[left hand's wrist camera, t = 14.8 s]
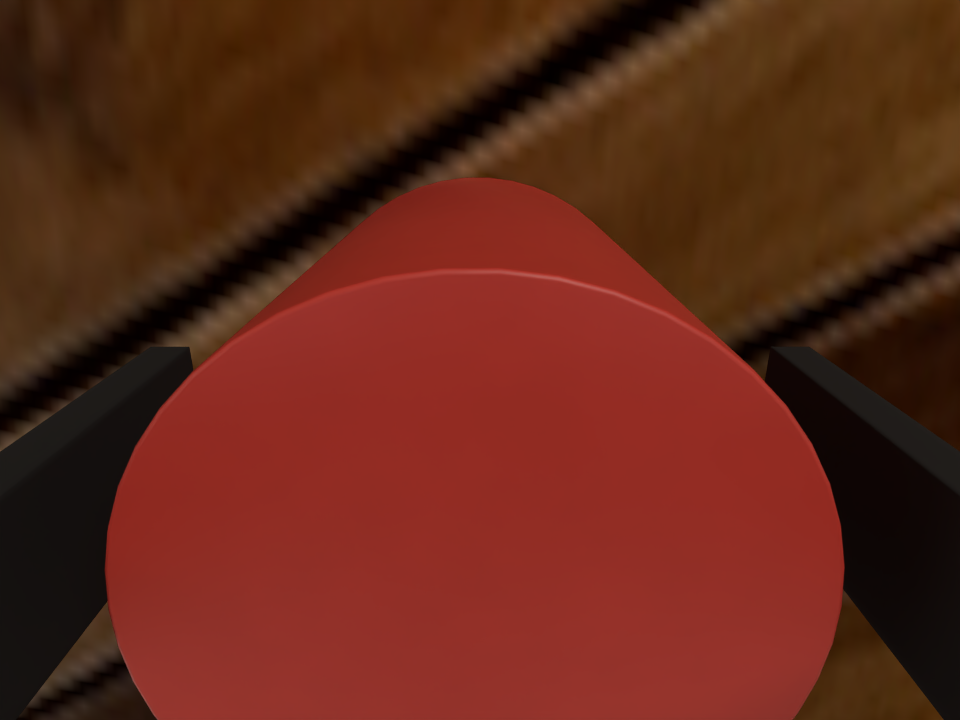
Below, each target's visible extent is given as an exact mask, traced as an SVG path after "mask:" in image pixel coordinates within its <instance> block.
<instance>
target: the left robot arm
mask: <svg viewBox="0 0 960 720" xmlns="http://www.w3.org/2000/svg"><path fill="white" fill-rule="evenodd" d="M192 372H193V366H192V360H191V354H190V348H189V347H150V348H149V349H147V350H146V351H144V352H143V353H141V354H140V355H138V356H137V357H136V358H134V359H133V360H131V361H130V362H128V363H127V364H126V365H124V366H123V367H121V368H120V369H118V370H117V371H116V372H114V373H113V374H111V375H110V376H108V377H107V378H105V379H104V380H103V381H101V382H100V383H98V384H97V385H95V386H94V387H93V388H91V389H90V390H88V391H87V392H85V393H84V394H83V395H81V396H80V397H78V398H77V399H75V400H74V401H73V402H71V403H70V404H68V405H67V406H65V407H64V408H62V409H61V410H60V411H58V412H57V413H55V414H54V415H52V416H51V417H50V418H48V419H47V420H45V421H44V422H42V423H41V424H40V425H38V426H37V427H35V428H34V429H32V430H31V431H29V432H28V433H27V434H25V435H24V436H22V437H21V438H19V439H18V440H17V441H15V442H14V443H12V444H11V445H9V446H8V447H7V448H5V449H4V450H2V451H1V452H0V720H16V719H17V718H18V716H19V715H20V714H21V713H22V711H23V710H24V709H25V707H26V706H27V705H28V703H29V702H30V701H31V700H32V698H33V697H34V696H35V694H36V693H37V692H38V690H39V689H40V688H41V687H42V685H43V684H44V683H45V681H46V680H47V679H48V678H49V676H50V675H51V674H52V672H53V671H54V670H55V668H56V667H57V666H58V665H59V663H60V662H61V661H62V659H63V658H64V657H65V655H66V654H67V653H68V652H69V650H70V649H71V648H72V646H73V645H74V644H75V642H76V641H77V640H78V639H79V637H80V636H81V635H82V633H83V632H84V631H85V629H86V628H87V627H88V626H89V624H90V623H91V622H92V620H93V619H94V618H95V617H96V615H97V614H98V613H99V611H100V610H101V609H102V607H103V606H104V605H105V604H106V602H107V601H108V599H107V588H106V578H105V560H106V545H107V531H108V525H109V521H110V517H111V513H112V509H113V505H114V501H115V496H116V492H117V488H118V485H119V483H120V480H121V478H122V476H123V473H124V471H125V469H126V466H127V464H128V462H129V460H130V457H131V455H132V453H133V450H134V448H135V446H136V444H137V443H138V441H139V440H140V438H141V437H142V435H143V433H144V432H145V430H146V429H147V427H148V426H149V424H150V423H151V421H152V419H153V418H154V416H155V415H156V413H157V412H158V410H159V409H160V407H161V406H162V405H163V404H164V403H165V402H166V401H167V399H168V398H169V397H170V396H171V395H172V394H173V393H174V392H175V390H176V389H177V388H178V387H179V386H180V385H181V384H182V383H183V382H184V380H185V379H186V378H187V377H188V376H189V375H190V374H191V373H192ZM765 383H766V384H767V385H768V386H769V387H770V388H771V389H772V390H773V391H774V392H775V393H776V395H777V396H778V397H779V398H780V399H781V400H782V401H783V402H784V403H785V404H786V405H787V407H788V408H789V410H790V411H791V413H792V414H793V416H794V417H795V419H796V420H797V422H798V423H799V425H800V426H801V428H802V429H803V431H804V432H805V434H806V435H807V437H808V439H809V440H810V442H811V443H812V445H813V447H814V449H815V452H816V454H817V456H818V458H819V460H820V463H821V465H822V467H823V469H824V472H825V474H826V476H827V478H828V480H829V483H830V486H831V490H832V493H833V497H834V501H835V505H836V509H837V513H838V516H839V520H840V524H841V533H842V545H843V556H844V580H843V589H844V591H845V592H846V593H847V594H848V596H849V597H850V598H851V600H852V601H853V602H854V604H855V605H856V606H857V607H858V609H859V610H860V611H861V613H862V614H863V615H864V617H865V618H866V619H867V620H868V622H869V623H870V624H871V626H872V627H873V628H874V630H875V631H876V632H877V633H878V635H879V636H880V637H881V639H882V640H883V641H884V642H885V644H886V645H887V646H888V648H889V649H890V650H891V652H892V653H893V654H894V655H895V657H896V658H897V659H898V661H899V662H900V663H901V665H902V666H903V667H904V668H905V670H906V671H907V672H908V674H909V675H910V676H911V678H912V679H913V680H914V681H915V683H916V684H917V685H918V687H919V688H920V689H921V691H922V692H923V693H924V694H925V696H926V697H927V698H928V700H929V701H930V702H931V704H932V705H933V706H934V707H935V709H936V710H937V711H938V713H939V714H940V715H941V716H942V718H943V719H944V720H960V452H959V451H958V450H956V449H955V448H953V447H952V446H951V445H949V444H948V443H946V442H945V441H943V440H942V439H941V438H939V437H938V436H936V435H935V434H933V433H932V432H930V431H929V430H928V429H926V428H925V427H923V426H922V425H920V424H919V423H918V422H916V421H915V420H913V419H912V418H910V417H909V416H908V415H906V414H905V413H903V412H902V411H900V410H899V409H898V408H896V407H895V406H893V405H892V404H890V403H889V402H887V401H886V400H885V399H883V398H882V397H880V396H879V395H877V394H876V393H875V392H873V391H872V390H870V389H869V388H867V387H866V386H865V385H863V384H862V383H860V382H859V381H857V380H856V379H854V378H853V377H852V376H850V375H849V374H847V373H846V372H844V371H843V370H842V369H840V368H839V367H837V366H836V365H834V364H833V363H832V362H830V361H829V360H827V359H826V358H824V357H823V356H822V355H820V354H819V353H817V352H816V351H814V350H813V349H811V348H810V347H771V348H770V354H769V360H768V366H767V372H766V377H765Z"/></svg>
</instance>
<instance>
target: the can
mask: <svg viewBox="0 0 960 720" xmlns="http://www.w3.org/2000/svg"><path fill="white" fill-rule="evenodd" d="M105 578H106V588H107V599H108V609H109V613H110V617H111V621H112V624H113V628H114V632H115V636H116V640H117V644H118V647H119V649H120V652H121V654H122V656H123V659H124V661H125V663H126V666H127V668H128V670H129V673H130V675H131V677H132V680H133V682H134V684H135V685H136V687H137V688H138V690H139V692H140V693H141V695H142V697H143V698H144V700H145V702H146V703H147V705H148V707H149V708H150V710H151V711H152V713H153V715H154V716H155V717H156V718H157V720H793V718H794V717H795V716H796V715H797V713H798V712H799V710H800V709H801V707H802V705H803V704H804V702H805V700H806V698H807V697H808V695H809V693H810V692H811V690H812V688H813V687H814V685H815V683H816V682H817V680H818V678H819V675H820V673H821V670H822V668H823V665H824V663H825V661H826V658H827V656H828V653H829V651H830V648H831V646H832V643H833V639H834V635H835V631H836V627H837V623H838V619H839V614H840V610H841V606H842V593H843V580H844V556H843V545H842V533H841V524H840V520H839V516H838V513H837V509H836V505H835V501H834V497H833V493H832V490H831V486H830V483H829V480H828V478H827V476H826V474H825V472H824V469H823V467H822V465H821V463H820V460H819V458H818V456H817V454H816V452H815V449H814V447H813V445H812V443H811V442H810V440H809V439H808V437H807V435H806V434H805V432H804V431H803V429H802V428H801V426H800V425H799V423H798V422H797V420H796V419H795V417H794V416H793V414H792V413H791V411H790V410H789V408H788V407H787V405H786V404H785V403H784V402H783V401H782V400H781V399H780V398H779V397H778V396H777V395H776V393H775V392H774V391H773V390H772V389H771V388H770V387H769V386H768V385H767V384H766V383H765V382H764V380H763V379H762V378H761V377H760V376H759V375H758V374H757V373H756V372H755V371H754V370H753V369H752V368H751V367H750V366H749V365H748V364H747V363H746V362H745V361H744V360H742V359H741V358H740V357H739V356H738V355H737V354H736V353H735V352H734V351H733V350H732V349H730V348H729V347H728V346H727V345H726V344H725V343H724V342H723V341H722V340H721V339H720V338H718V337H717V336H716V335H715V334H714V333H713V332H712V331H711V330H710V329H709V328H708V327H707V326H705V325H704V324H703V323H702V322H701V321H700V320H699V319H698V318H697V317H696V316H695V315H693V314H692V313H691V312H690V311H689V310H688V309H687V308H686V307H685V306H684V305H683V304H681V303H680V302H679V301H678V300H677V299H676V298H675V297H674V296H673V295H672V294H671V293H669V292H668V291H667V290H666V289H665V288H664V287H663V286H662V285H661V284H660V283H659V282H657V281H656V280H655V279H654V278H653V277H652V276H651V275H650V274H649V273H648V272H647V271H645V270H644V269H643V268H642V267H641V266H640V265H639V264H638V263H637V262H636V261H635V260H633V259H632V258H631V257H630V256H629V255H628V254H627V253H626V252H625V251H624V250H623V249H621V248H620V247H619V246H618V245H617V244H616V243H615V242H614V241H613V240H612V239H611V238H609V237H608V236H607V235H606V234H605V233H604V232H603V231H602V230H601V229H600V228H599V227H597V226H596V225H595V224H594V223H593V222H592V221H591V220H590V219H588V218H587V217H586V216H585V215H583V214H582V213H581V212H580V211H578V210H577V209H576V208H575V207H573V206H571V205H570V204H568V203H566V202H565V201H563V200H561V199H560V198H558V197H556V196H554V195H552V194H550V193H547V192H545V191H542V190H540V189H538V188H535V187H533V186H529V185H525V184H522V183H518V182H514V181H510V180H502V179H495V178H460V179H453V180H446V181H440V182H436V183H433V184H429V185H426V186H422V187H419V188H417V189H414V190H412V191H410V192H408V193H405V194H403V195H401V196H398V197H397V198H395V199H393V200H392V201H390V202H389V203H387V204H385V205H384V206H382V207H380V208H379V209H377V210H376V211H375V212H374V213H373V214H371V215H370V216H369V217H368V218H367V219H365V220H364V221H363V222H362V223H361V224H359V225H358V226H357V227H356V228H355V229H354V230H353V231H351V232H350V233H349V234H348V235H347V236H346V237H345V238H344V239H342V240H341V241H340V242H339V243H338V244H337V245H336V246H334V247H333V248H332V249H331V250H330V251H329V252H328V253H327V254H325V255H324V256H323V257H322V258H321V259H320V260H319V261H317V262H316V263H315V264H314V265H313V266H312V267H311V268H309V269H308V270H307V271H306V272H305V273H304V274H303V275H302V276H300V277H299V278H298V279H297V280H296V281H295V282H294V283H292V284H291V285H290V286H289V287H288V288H287V289H286V290H285V291H283V292H282V293H281V294H280V295H279V296H278V297H277V298H275V299H274V300H273V301H272V302H271V303H270V304H269V305H268V306H266V307H265V308H264V309H263V310H262V311H261V312H260V313H258V314H257V315H256V316H255V317H254V318H253V319H252V320H250V321H249V322H248V323H247V324H246V325H245V326H244V327H243V328H241V329H240V330H239V331H238V332H237V333H236V334H235V335H233V336H232V337H231V338H230V339H229V340H228V341H227V342H226V343H224V344H223V345H222V346H221V347H220V348H219V349H218V350H216V351H215V352H214V353H213V354H212V355H211V356H210V357H209V358H207V359H206V360H205V361H204V362H203V363H202V364H201V365H199V366H198V367H197V368H196V369H195V370H194V371H193V372H192V373H191V374H190V375H189V376H188V377H187V378H186V379H185V380H184V382H183V383H182V384H181V385H180V386H179V387H178V388H177V389H176V390H175V392H174V393H173V394H172V395H171V396H170V397H169V398H168V399H167V401H166V402H165V403H164V404H163V405H162V406H161V407H160V409H159V410H158V412H157V413H156V415H155V416H154V418H153V419H152V421H151V423H150V424H149V426H148V427H147V429H146V430H145V432H144V433H143V435H142V437H141V438H140V440H139V441H138V443H137V444H136V446H135V448H134V450H133V453H132V455H131V457H130V460H129V462H128V464H127V466H126V469H125V471H124V473H123V476H122V478H121V480H120V483H119V485H118V488H117V492H116V496H115V501H114V505H113V509H112V513H111V517H110V521H109V525H108V531H107V545H106V560H105Z"/></svg>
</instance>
